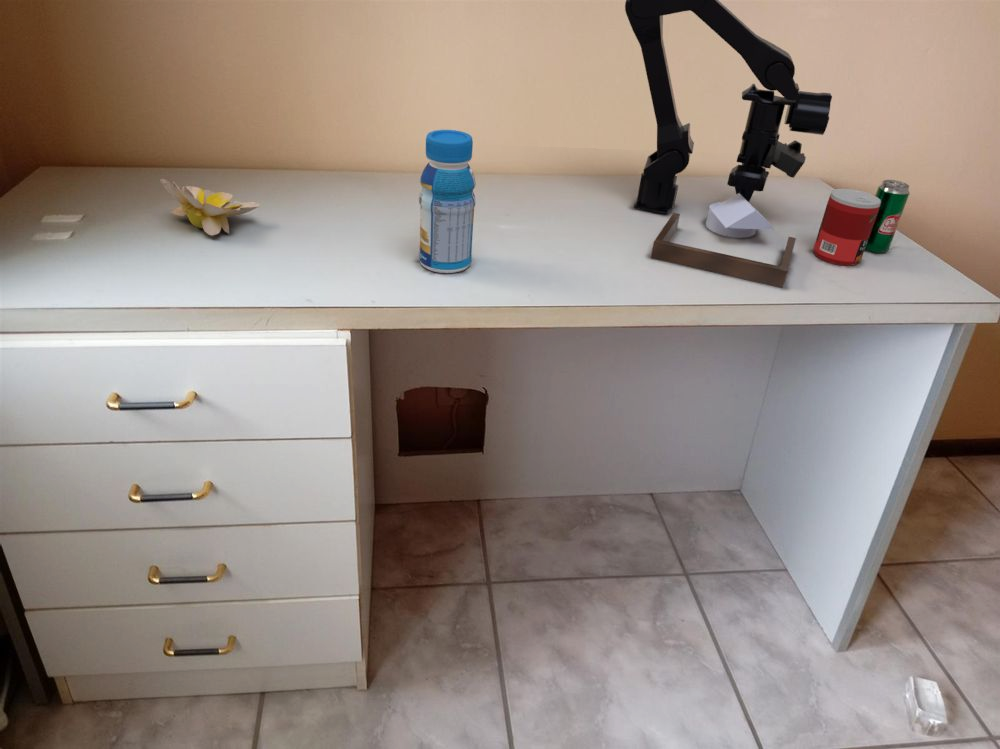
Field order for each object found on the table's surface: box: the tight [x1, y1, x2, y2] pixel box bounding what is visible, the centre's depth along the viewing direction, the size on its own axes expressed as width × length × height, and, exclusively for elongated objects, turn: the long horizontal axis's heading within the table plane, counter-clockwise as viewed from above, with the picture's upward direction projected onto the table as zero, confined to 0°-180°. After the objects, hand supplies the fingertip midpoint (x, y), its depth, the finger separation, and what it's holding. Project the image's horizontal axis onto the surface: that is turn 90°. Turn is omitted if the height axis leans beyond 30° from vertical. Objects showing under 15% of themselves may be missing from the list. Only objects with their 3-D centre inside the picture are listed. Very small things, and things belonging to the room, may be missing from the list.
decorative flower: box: [159, 178, 261, 236], centre depth 126 cm, size 15×11×10 cm
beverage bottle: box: [418, 129, 477, 274], centre depth 117 cm, size 8×8×20 cm
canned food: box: [813, 188, 881, 267], centre depth 132 cm, size 8×8×11 cm
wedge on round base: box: [705, 193, 776, 239], centre depth 140 cm, size 9×7×13 cm
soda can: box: [864, 179, 910, 254], centre depth 137 cm, size 5×5×12 cm
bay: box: [650, 212, 797, 288], centre depth 132 cm, size 21×15×3 cm
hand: (742, 210), depth 147 cm, fingers closed
